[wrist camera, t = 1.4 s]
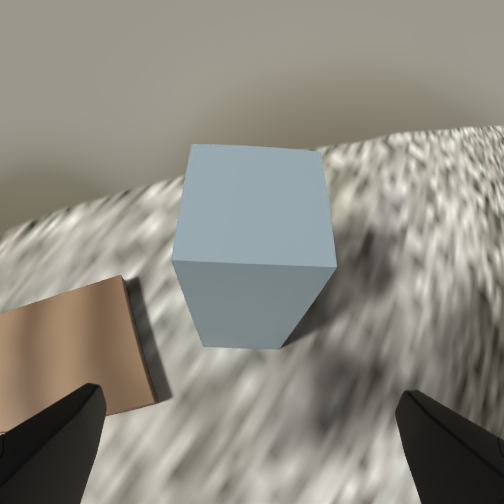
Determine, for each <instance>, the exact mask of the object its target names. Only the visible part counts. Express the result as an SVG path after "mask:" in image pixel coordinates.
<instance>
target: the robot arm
mask: <svg viewBox="0 0 504 504" xmlns="http://www.w3.org/2000/svg"><path fill="white" fill-rule="evenodd" d="M106 412H107V404H106V400H105V397H104V393H103V390H102V387H101V386H100V385H99V384H95V383H86V384H84V385H82V386H81V387H79V388H78V389H76V390H74V391H73V392H71V393H70V394H68V395H66V396H65V397H63V398H62V399H60V400H58V401H57V402H55V403H53V404H52V405H50V406H49V407H47V408H45V409H44V410H42V411H40V412H39V413H37V414H35V415H34V416H32V417H30V418H29V419H27V420H26V421H24V422H22V423H21V424H19V425H17V426H16V427H14V428H12V429H11V430H9V431H7V432H6V433H5V435H4V434H2V435H0V504H80V503H81V499H82V496H83V493H84V490H85V487H86V484H87V481H88V478H89V475H90V472H91V469H92V466H93V463H94V460H95V457H96V454H97V451H98V447H99V442H100V438H101V433H102V429H103V424H104V420H105V416H106ZM395 416H396V420H397V424H398V428H399V432H400V437H401V441H402V445H403V449H404V453H405V456H406V460H407V462H408V465H409V468H410V471H411V474H412V477H413V480H414V483H415V486H416V489H417V492H418V495H419V498H420V501H421V504H504V440H503V439H501V438H499V437H497V436H496V435H494V434H492V433H490V432H489V431H487V430H485V429H483V428H482V427H480V426H478V425H476V424H475V423H473V422H471V421H469V420H468V419H466V418H464V417H462V416H461V415H459V414H457V413H456V412H454V411H452V410H450V409H449V408H447V407H445V406H444V405H442V404H440V403H439V402H437V401H435V400H434V399H432V398H430V397H429V396H427V395H425V394H424V393H422V392H420V391H419V390H416V389H412V390H406V391H404V392H403V394H402V396H401V398H400V401H399V403H398V406H397V408H396V412H395Z"/></svg>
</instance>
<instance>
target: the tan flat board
mask: <svg viewBox="0 0 504 504" xmlns="http://www.w3.org/2000/svg"><path fill="white" fill-rule="evenodd" d="M86 383H95V384H99V385H100V386H101V387H102V390H103V393H104V397H105V400H106V404H107V412H106V416H109V415H113V414H118V413H122V412H126V411H130V410H134V409H138V408H142V407H146V406H150V405H154V404H157V403H158V400H157V397H156V394H155V391H154V388H153V385H152V381H151V378H150V375H149V372H148V368H147V365H146V362H145V358H144V355H143V351H142V347H141V344H140V340H139V336H138V333H137V329H136V325H135V321H134V317H133V313H132V309H131V304H130V300H129V296H128V291H127V287H126V282H125V280H124V279H123V278H122V276H121V275H119V276H116V277H112V278H109V279H106V280H103V281H100V282H97V283H93V284H90V285H87V286H84V287H81V288H78V289H75V290H72V291H69V292H65V293H62V294H59V295H56V296H53V297H50V298H47V299H44V300H41V301H38V302H35V303H32V304H29V305H26V306H23V307H20V308H17V309H14V310H11V311H8V312H5V313H2V314H0V433H6V432H7V431H9V430H11V429H12V428H14V427H16V426H17V425H19V424H21V423H22V422H24V421H26V420H27V419H29V418H30V417H32V416H34V415H35V414H37V413H39V412H40V411H42V410H44V409H45V408H47V407H49V406H50V405H52V404H53V403H55V402H57V401H58V400H60V399H62V398H63V397H65V396H66V395H68V394H70V393H71V392H73V391H74V390H76V389H78V388H79V387H81V386H82V385H84V384H86Z"/></svg>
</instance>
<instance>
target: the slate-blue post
mask: <svg viewBox="0 0 504 504" xmlns="http://www.w3.org/2000/svg"><path fill="white" fill-rule="evenodd" d="M172 263H173V266H174V269H175V272H176V275H177V278H178V280H179V283H180V286H181V289H182V292H183V294H184V297H185V300H186V303H187V305H188V308H189V311H190V313H191V316H192V319H193V321H194V324H195V327H196V329H197V332H198V334H199V337H200V339H201V342H202V344H203V346H204V347H222V348H248V349H280V347H281V346H282V345H283V343H284V342H285V341H286V339H287V338H288V337H289V335H290V334H291V333H292V331H293V330H294V328H295V327H296V326H297V324H298V323H299V321H300V320H301V319H302V317H303V316H304V314H305V313H306V312H307V310H308V309H309V307H310V306H311V305H312V303H313V302H314V300H315V299H316V297H317V296H318V294H319V293H320V292H321V290H322V289H323V287H324V286H325V284H326V283H327V281H328V280H329V278H330V277H331V275H332V274H333V272H334V271H335V269H336V268H337V263H336V254H335V246H334V238H333V230H332V223H331V215H330V208H329V202H328V195H327V189H326V182H325V176H324V170H323V164H322V159H321V153H320V152H318V151H308V150H297V149H285V148H273V147H256V146H239V145H237V146H236V145H211V144H209V145H207V144H192V146H191V151H190V156H189V161H188V166H187V171H186V176H185V181H184V187H183V192H182V198H181V203H180V209H179V215H178V221H177V227H176V233H175V240H174V246H173V253H172Z"/></svg>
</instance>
